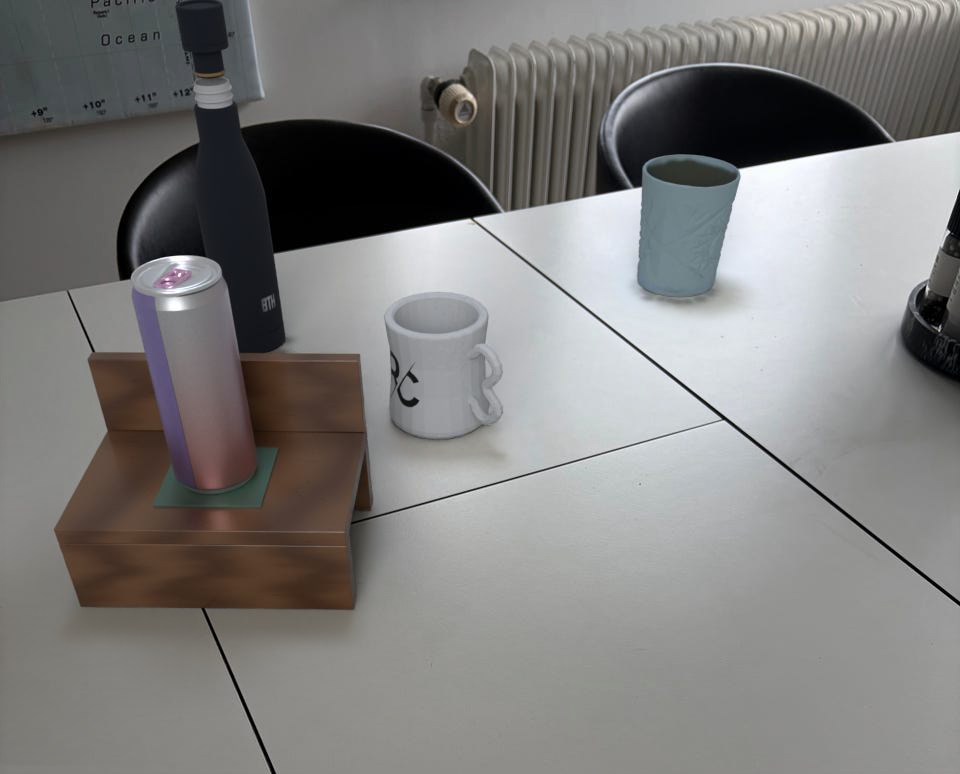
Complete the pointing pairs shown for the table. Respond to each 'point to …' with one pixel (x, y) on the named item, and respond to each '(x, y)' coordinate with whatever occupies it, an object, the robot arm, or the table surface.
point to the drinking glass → (684, 222)
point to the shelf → (224, 495)
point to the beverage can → (196, 371)
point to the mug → (441, 365)
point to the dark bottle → (230, 186)
